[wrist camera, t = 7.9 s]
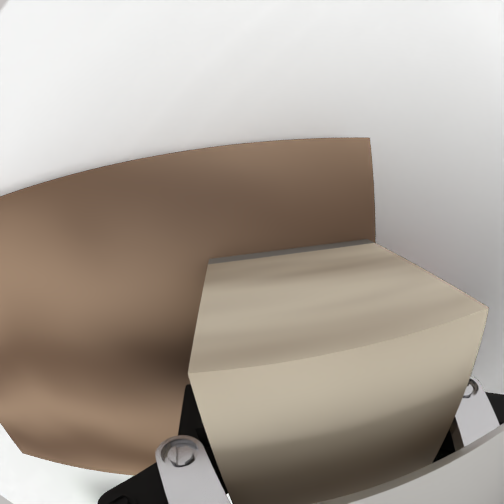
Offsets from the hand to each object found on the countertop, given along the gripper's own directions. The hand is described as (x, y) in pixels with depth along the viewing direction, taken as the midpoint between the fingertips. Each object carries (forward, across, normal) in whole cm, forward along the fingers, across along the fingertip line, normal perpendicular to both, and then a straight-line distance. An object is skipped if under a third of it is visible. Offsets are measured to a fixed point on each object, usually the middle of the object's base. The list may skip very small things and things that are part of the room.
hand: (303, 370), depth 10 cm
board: (+3, +8, 0) cm, 8 cm away
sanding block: (+1, 0, 0) cm, 1 cm away
